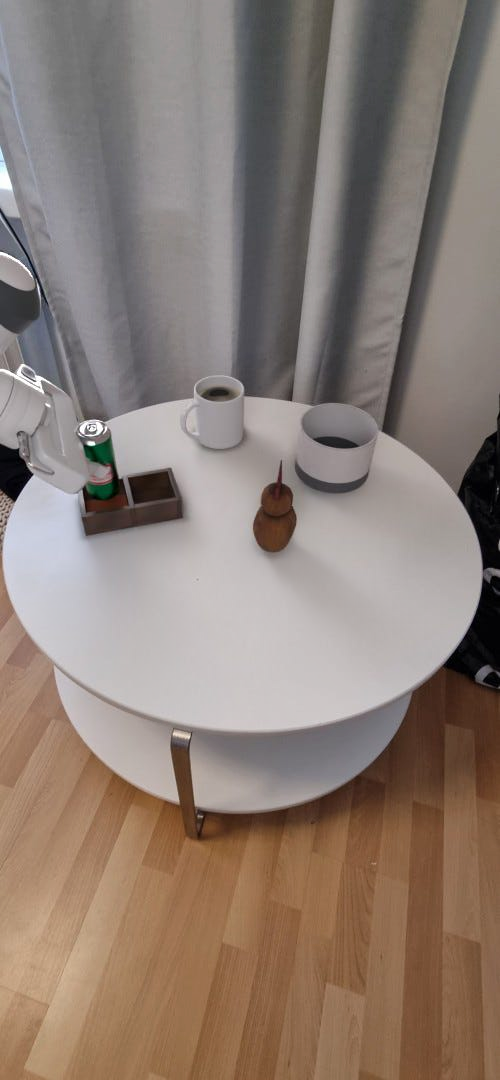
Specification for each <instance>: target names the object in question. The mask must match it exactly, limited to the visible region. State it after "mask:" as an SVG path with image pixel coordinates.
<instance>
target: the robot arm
mask: <svg viewBox="0 0 500 1080" xmlns="http://www.w3.org/2000/svg"><path fill="white" fill-rule="evenodd" d="M41 312H42V299H41V292H40V287H39V284H38V281H37V279H36V277H35V275H34V274H33V272H32V271H31V270H30V269H29V268H28V266H26V264H25V263H24V262H22V261H21V260H20V259H18V258H17V257H15V256H14V255H13V254H10V253H9V252H6V251H4V250H2V249H0V357H1V356H2V355H3V354H4V353H5V352H6V351H7V349H8V348H10V346H11V345H12V344H13V343H14V342H15V340H17V338H18V337H19V336H20V335H22V334H23V333H24V332H25V331H26V330H27V329H29V328H30V327H31V326H32V325H33V324H34V323H35V322H36V321H37V320H38V319H39V318H40V317H41ZM74 405H75V404H74V400H73V399H72V398H71V397H70V396H69V395H68V394H67V393H66V392H65V391H64V390H62V389H61V388H60V387H58V386H56V385H55V384H53V383H52V382H51V381H49V380H47V379H45V378H44V377H42V376H40V375H37V374H36V371H35V370H34V369H33V368H31V367H30V366H28V365H26V364H24V363H22V364H20V365H19V367H17V369H16V370H15V371H14V372H11V371H9V370H7V369H4V368H0V445H2V446H5V447H6V448H9V449H11V450H18V449H19V453H18V454H19V457H20V458H21V459H23V460H24V462H25V464H26V467H27V468H28V470H29V471H30V472H31V473H32V474H33V475H34V476H36V477H37V478H38V479H40V480H42V481H43V482H45V483H47V484H49V485H50V486H52V487H53V488H57V489H58V490H60V491H62V492H63V493H66V494H68V495H78V492H80V491H81V489H82V488H83V487H84V486H85V485H86V484H87V483H88V481H89V480H90V475H94V476H96V477H98V478H104V477H105V476H106V475H107V474H108V468H107V465H106V464H105V463H103V462H101V461H99V460H98V461H97V462H91V461H90V459H89V458H87V457H86V455H85V451H84V447H83V443H82V441H81V440H80V438H79V436H78V435H77V433H76V429H77V427H78V426H79V425H80V424H81V423H82V422H80V421H78V418H77V413H76V409H75V406H74Z"/></svg>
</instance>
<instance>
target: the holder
mask: <svg viewBox="0 0 500 1080" xmlns="http://www.w3.org/2000/svg"><path fill="white" fill-rule="evenodd" d="M118 477H119V483H120V491H119V493H118V494H117V495H116V496H115V497H114V498H112V499H110V500H107V501H98V500H95V499H93V498H91V497H90V496H89V495H88V493H87V489H86V485H85V486H84V487H83V488H82V489H81V491H80V492H78V493H77V498H78V504H79V506H78V507H79V512H80V518H81V522H82V527H83V531H84V535H85V537H89V536H94V535H98V534H104V533H109V532H110V533H111V532H116V531H121V530H126V529H133V528H137V527H143V526H148V525H153V524H159V523H164V522H170V521H176V520H180V519H184V513H183V511H184V510H183V499H182V496H181V493H180V490H179V487H178V484H177V480H176V477H175V474H174V472H173V468H172V467H166V468H159V469H153V470H146V471H141V472H135V473H129V474H123V475H118Z"/></svg>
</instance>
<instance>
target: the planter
mask: <svg viewBox="0 0 500 1080" xmlns="http://www.w3.org/2000/svg"><path fill="white" fill-rule="evenodd" d="M379 431H380V430H379V424H378V423H377V421H376V420H375V418H374V416H372V415H371V414H370V413H368V412H366V410H363V409H362V408H359V407H357V406H353V405H351V404H348V403H341V402H339V403H338V402H326V403H320V404H316V405H314V406H312V407H310V408H308V409H307V410H305V411H304V412H303V413H302V415H301V417H300V419H299V424H298V434H297V443H296V450H295V460H294V470H295V474H296V475H297V477H298V478H299V479H300V481H301V482H302V483H304V485H307V486H308V487H310V488H312V489H314V490H316V491H319V492H323V493H328V494H345V493H350V492H353V491H355V490H357V489H359V488H361V487H362V486H363V485H364V484H365V483H366V481H367V480H368V477H369V475H370V470H371V465H372V462H373V461H372V460H373V457H374V453H375V448H376V444H377V441H378V436H379Z"/></svg>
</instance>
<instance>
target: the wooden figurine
mask: <svg viewBox="0 0 500 1080" xmlns="http://www.w3.org/2000/svg"><path fill="white" fill-rule="evenodd" d="M276 479H277V480H276V482H271V483H269V484H267V485H266V486H265V487H264V488H263V490H262V492H261V495H260V507H258V510H257V511H256V513H255V516H254V519H253V523H252V532H253V535H254V539H255V541H256V544H257V545H258V546H259V547H260V548H261V549H262V550H263V551H265V552H268V553H278V552H281V551H282V550H284V549H285V548H286V547H287V546H288V544H289V543H290V541H291V539H292V537H293V535H294V532H295V530H296V527H297V522H298V520H297V519H298V518H297V513H296V510H295V508H294V506H293V503H294V494H293V491H292V488H291V487H290V486H288V485H287V484H285V483H283V460H282V459H281V460H280V463H279V468H278V474H277V478H276Z"/></svg>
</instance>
